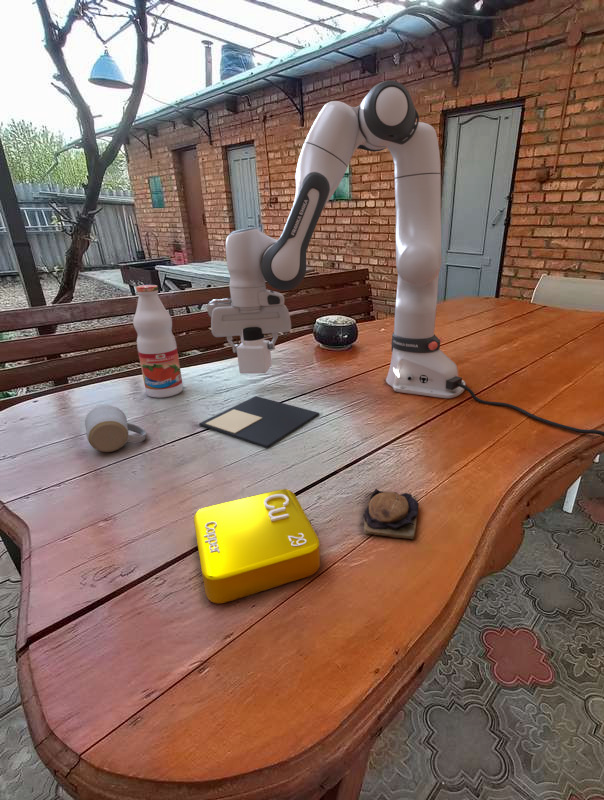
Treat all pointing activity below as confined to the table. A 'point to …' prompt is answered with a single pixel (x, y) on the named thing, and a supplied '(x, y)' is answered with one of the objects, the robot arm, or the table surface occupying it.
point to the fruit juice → (156, 345)
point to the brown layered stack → (391, 514)
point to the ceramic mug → (110, 429)
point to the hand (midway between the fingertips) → (254, 350)
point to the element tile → (254, 545)
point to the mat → (260, 421)
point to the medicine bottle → (253, 352)
